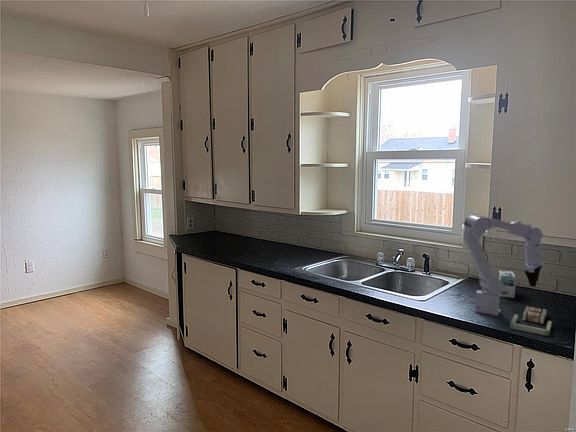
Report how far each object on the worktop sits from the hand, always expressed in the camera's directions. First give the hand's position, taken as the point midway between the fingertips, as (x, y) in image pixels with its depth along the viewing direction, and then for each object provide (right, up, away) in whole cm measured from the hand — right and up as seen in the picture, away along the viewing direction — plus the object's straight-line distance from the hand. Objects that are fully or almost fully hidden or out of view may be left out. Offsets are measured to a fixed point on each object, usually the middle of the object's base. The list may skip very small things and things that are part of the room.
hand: (534, 283), depth 189 cm
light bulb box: (0, -9, +24) cm, 26 cm away
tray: (-10, -15, -16) cm, 24 cm away
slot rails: (-3, -14, -6) cm, 15 cm away
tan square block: (-2, -14, -4) cm, 14 cm away
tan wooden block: (-5, -14, -9) cm, 18 cm away
